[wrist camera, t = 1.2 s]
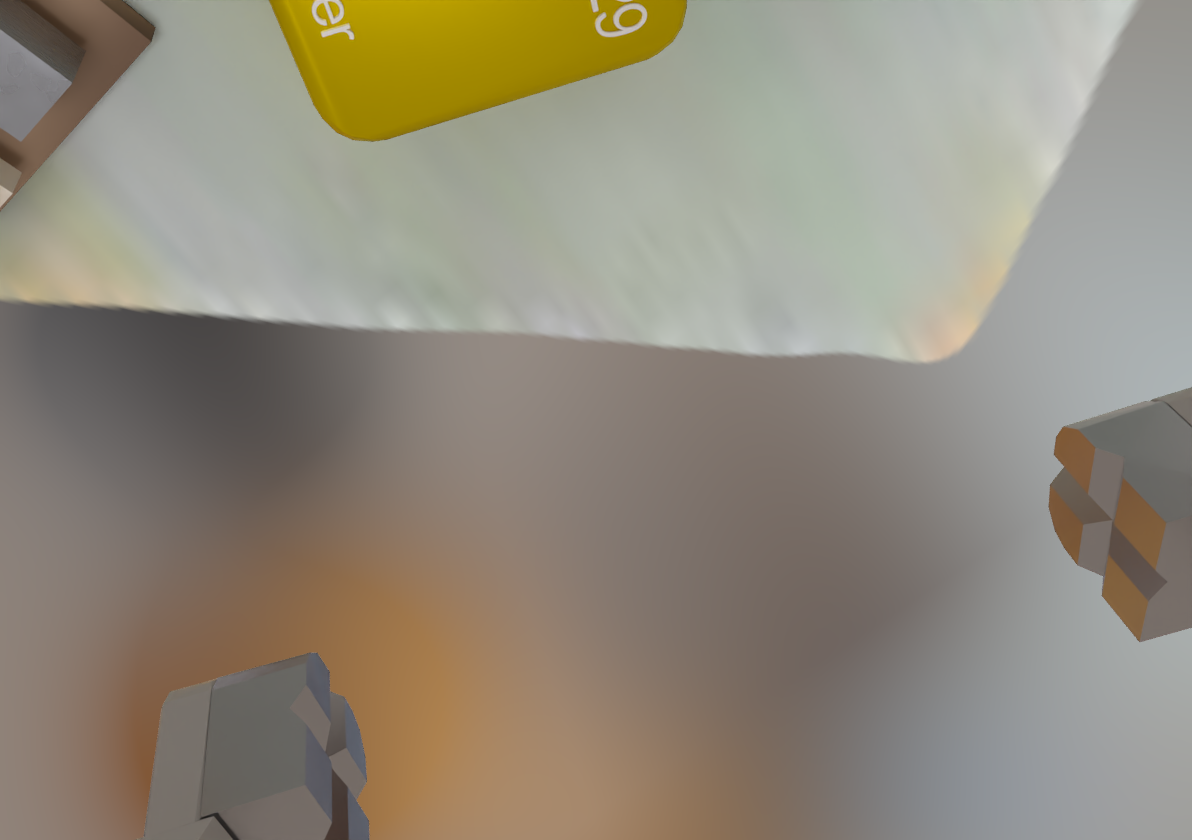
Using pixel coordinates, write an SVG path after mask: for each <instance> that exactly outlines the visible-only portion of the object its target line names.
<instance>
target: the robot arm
mask: <svg viewBox="0 0 1192 840" xmlns="http://www.w3.org/2000/svg"><path fill="white" fill-rule="evenodd" d="M1054 455H1055V457H1056V458H1057V459H1058V460H1059V461H1060V462H1061V464H1063V466H1064V468H1063V469H1062V470H1061V471H1060V473H1059V474H1058V475H1057V477H1056V478H1055V479H1054V480H1053V482H1052V483H1051V484H1050V495H1049V510H1050V514H1051V517H1052V522H1053V525H1054V529H1055V532H1056V533H1057V535H1058V537H1059V539H1060V541H1061V543H1062V545H1063V547H1064V548H1065V550H1066V551H1067V552H1068V554H1069V555H1070V556H1071V557H1072V559H1073V560H1074V561H1075V563H1076V564H1077V565H1078V566H1081V567H1083V568H1085V569H1088V570H1090V571H1092V572H1095V573H1097V574H1099V575H1102V576H1103V586H1102V597H1103V598H1104V599H1105V600H1106V601H1107V603H1108V604H1109V605H1110V606H1111V608H1112V609H1113V610H1114V611H1115V612H1116V614H1117V615H1118V616H1119V617H1120V619H1121V620H1122V621H1123V622H1124V624H1125V625H1126V626H1127V627H1128V628H1129V630H1130V631H1131V632H1132V633H1133V635H1134V636H1135V637H1136V638H1137V640H1138V641H1139V642H1142V641H1145V640H1149V639H1153V638H1156V637H1160V636H1163V635H1167V634H1170V633H1174V632H1178V631H1181V630H1185V629H1188V628H1192V387H1191V388H1188V389H1185V390H1181V391H1178V392H1175V393H1171V394H1168V395H1165V396H1162V397H1158V398H1155V399H1153V400H1151V401H1144V402H1141V403H1137V404H1134V405H1131V406H1128V407H1125V408H1122V409H1118V410H1115V411H1112V412H1109V413H1106V414H1103V415H1099V416H1096V417H1092V418H1090V419H1086V420H1083V421H1080V422H1076V423H1074V424H1070V425H1067V426H1064V427H1063V428H1062V429H1061V431H1060V432H1059V433H1058V435H1057V436H1056V442H1055V449H1054ZM329 673H330V672H329V670H328V669H327V667H326V665H325V664H324V662H323V661H322V659H321V658H320V656H319V655H318V653H307V654H304V655H300V656H296V657H293V658H289V659H285V660H282V661H278V662H274V663H271V664H267V665H263V666H260V667H256V668H252V669H249V670H245V671H241V672H238V673H234V674H230V675H227V676H223V677H219V678H218V679H214V680H211V681H207V682H204V683H200V684H196V685H193V686H190V687H185V688H182V689H179V690H175V691H171V692H170V693H169V695H168V697H167V698H166V700H165V702H164V704H163V706H162V710H161V716H160V723H159V731H158V738H157V745H156V752H155V759H154V767H153V774H152V781H151V787H150V795H149V802H148V809H147V816H146V823H145V831H144V837H142V838H139V839H136V840H369V820H368V818H367V817H366V815H365V814H364V812H363V810H362V809H361V807H360V806H359V804H358V802H357V801H356V800H357V798H358V796H359V795H360V793H361V791H362V789H363V788H364V786H365V784H366V782H367V775H366V761H365V753H364V748H363V743H362V739H361V734H360V729H359V727H358V724H357V722H356V719H355V717H354V714H353V711H352V709H351V708H350V706H349V704H348V703H347V701H346V699H345V698H344V697H343V696H341V695H338V694H335V693H333V692H330V674H329Z"/></svg>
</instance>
